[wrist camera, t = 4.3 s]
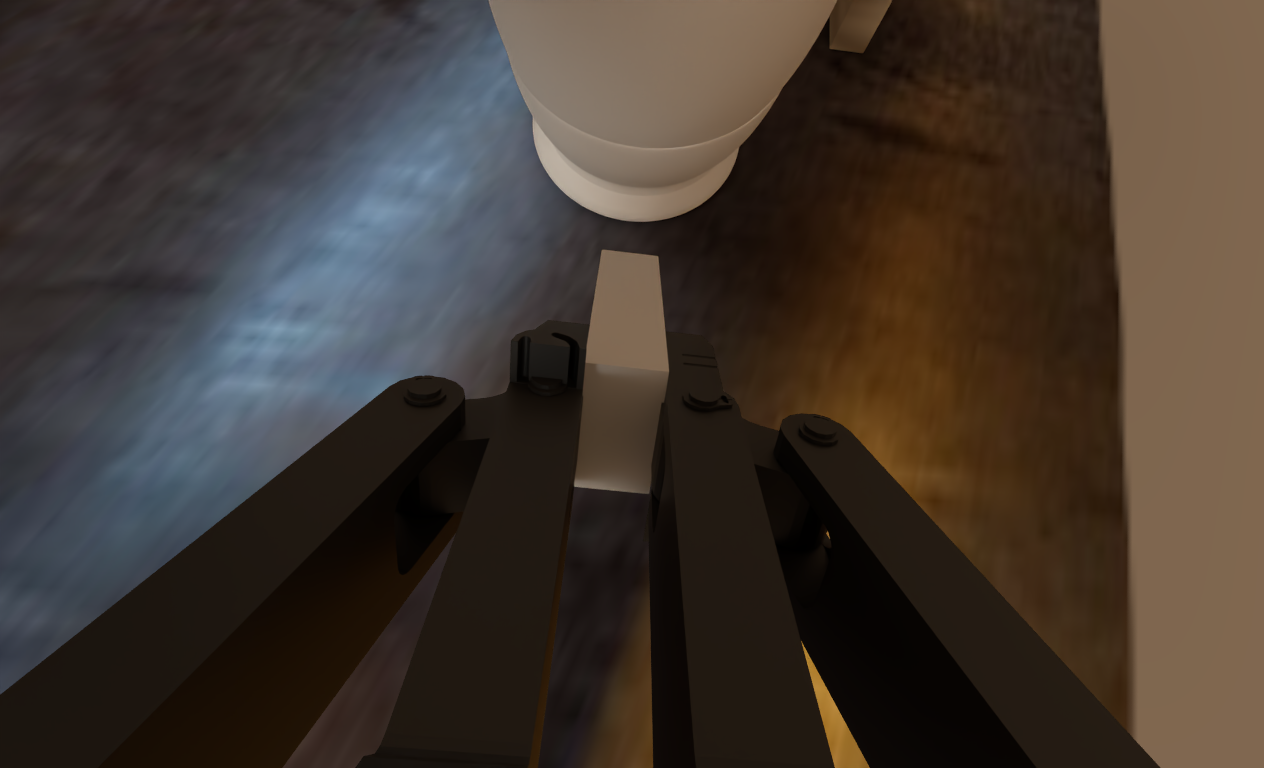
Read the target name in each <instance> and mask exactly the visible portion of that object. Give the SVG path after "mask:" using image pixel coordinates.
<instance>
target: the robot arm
mask: <svg viewBox="0 0 1264 768" xmlns="http://www.w3.org/2000/svg"><path fill="white" fill-rule="evenodd" d="M651 478H652V491H651V497H650V503H649V509H648V515H647V521H646V527H645V533H644V539H643V541H649V573H650V623H651V673H652V723H653V768H835V767H834V763H833V759H832V755H831V752H830V748H829V744H828V740H827V737H826V733H825V729H824V725H823V722H822V718H821V714H820V710H819V707H818V703H817V699H816V695H815V692H814V688H813V684H812V680H811V677H810V673H809V669H808V665H807V661H806V658H805V654H804V650H803V646H802V643H803V645H804V647H805V648H806V650H807V652H808V654H809V656H810V658H811V660H812V661H813V663H814V665H815V667H816V669H817V671H818V673H819V674H820V676H821V678H822V680H823V682H824V684H825V685H826V687H827V689H828V691H829V693H830V695H831V697H832V698H833V700H834V702H835V704H836V706H837V708H838V710H839V711H840V713H841V715H842V717H843V719H844V721H845V722H846V724H847V726H848V728H849V730H850V732H851V734H852V735H853V737H854V739H855V741H856V743H857V745H858V747H859V748H860V750H861V752H862V754H863V756H864V758H865V760H866V761H867V763H868V765H869V767H870V768H1160V767H1159V766H1158V765H1157V764H1156V763H1155V761H1154V760H1153V759H1152V758H1151V757H1150V756H1149V755H1148V754H1147V753H1146V752H1145V751H1144V749H1143V748H1142V747H1141V746H1140V745H1139V744H1138V743H1137V742H1136V741H1135V740H1134V739H1133V738H1132V736H1131V735H1130V734H1129V733H1128V732H1127V731H1126V730H1125V729H1124V728H1123V727H1122V726H1121V724H1120V723H1119V722H1118V721H1117V720H1116V719H1115V718H1114V717H1113V716H1112V715H1111V714H1110V713H1109V711H1108V710H1107V709H1106V708H1105V707H1104V706H1103V705H1102V704H1101V703H1100V702H1099V701H1098V700H1097V698H1096V697H1095V696H1094V695H1093V694H1092V693H1091V692H1090V691H1089V690H1088V689H1087V688H1086V686H1085V685H1084V684H1083V683H1082V682H1081V681H1080V680H1079V679H1078V678H1077V677H1076V676H1075V675H1074V673H1073V672H1072V671H1071V670H1070V669H1069V668H1068V667H1067V666H1066V665H1065V664H1064V663H1063V662H1062V660H1061V659H1060V658H1059V657H1058V656H1057V655H1056V654H1055V653H1054V652H1053V651H1052V650H1051V649H1050V647H1049V646H1048V645H1047V644H1046V643H1045V642H1044V641H1043V640H1042V639H1041V638H1040V637H1039V635H1038V634H1037V633H1036V632H1035V631H1034V630H1033V629H1032V628H1031V627H1030V626H1029V625H1028V624H1027V622H1026V621H1025V620H1024V619H1023V618H1022V617H1021V616H1020V615H1019V614H1018V613H1017V612H1016V611H1015V609H1014V608H1013V607H1012V606H1011V605H1010V604H1009V603H1008V602H1007V601H1006V600H1005V599H1004V598H1003V596H1002V595H1001V594H1000V593H999V592H998V591H997V590H996V589H995V588H994V587H993V586H992V584H991V583H990V582H989V581H988V580H987V579H986V578H985V577H984V576H983V575H982V574H981V573H980V571H979V570H978V569H977V568H976V567H975V566H974V565H973V564H972V563H971V562H970V561H969V560H968V558H967V557H966V556H965V555H964V554H963V553H962V552H961V551H960V550H959V549H958V548H957V546H956V545H955V544H954V543H953V542H952V541H951V540H950V539H949V538H948V537H947V536H946V535H945V533H944V532H943V531H942V530H941V529H940V528H939V527H938V526H937V525H936V524H935V523H934V522H933V520H932V519H931V518H930V517H929V516H928V515H927V514H926V513H925V512H924V511H923V510H922V509H921V507H920V506H919V505H918V504H917V503H916V502H915V501H914V500H913V499H912V498H911V497H910V495H909V494H908V493H907V492H906V491H905V490H904V489H903V488H902V487H901V486H900V485H899V484H898V482H897V481H896V480H895V479H894V478H893V477H892V476H891V475H890V474H889V473H888V472H887V471H886V469H885V468H884V467H883V466H882V465H881V464H880V463H879V462H878V461H877V460H876V459H875V458H874V456H873V455H872V454H871V453H870V452H869V451H868V450H867V449H866V448H865V447H864V446H863V444H862V443H861V442H860V441H859V440H858V439H857V438H856V437H855V436H854V435H853V434H852V433H851V432H850V431H849V430H848V429H846V428H845V427H844V426H843V425H841V424H839V423H837V422H835V421H833V420H831V419H830V418H828V417H824V416H822V417H821V415H816V414H795V415H790V416H788V417H787V418H785V419H783V420H782V424H781V427H780V430H779V431H777V430H774V429H770V428H767V427H763V426H760V425H757V424H754V423H751V422H749V421H747V420H745V419H743V418H742V417H741V413H740V410H739V406H738V404H737V403H736V401H735V399H734V398H733V397H731V396H730V395H729V394H727V393H726V392H724V391H723V387H722V383H721V379H720V375H719V370H718V368H717V362H716V359H715V354H714V350H713V346H712V345H711V344H710V343H709V342H708V341H707V340H706V339H705V338H704V337H702V336H701V335H692V334H683V333H674V332H666V331H665V323H664V313H663V302H662V292H661V281H660V271H659V260H658V256H653V255H644V254H636V253H627V252H619V251H610V250H602V252H601V258H600V265H599V271H598V277H597V284H596V290H595V296H594V303H593V309H592V315H591V322H590V325H588V324H579V323H570V322H561V321H552V320H548V321H546V322H545V323H543V324H542V325H540V326H539V327H537V328H536V329H535V330H528V331H524V332H522V333H520V334H517V335H516V336H515V337H514V338H513V339H512V340H511V358H510V383H509V386H508V388H507V391H506V392H505V393H503V394H501V395H497V396H493V397H488V398H481V399H467V400H465V394H464V390H463V388H462V387H461V386H460V385H458V384H457V383H456V382H454V381H451V380H448V379H446V378H441V377H434V376H415V377H412V378H408V379H404V380H401V381H399V382H397V383H395V384H393V385H391V386H389V387H388V388H387V389H386V390H384V391H383V392H382V393H381V394H379V395H378V396H377V397H376V398H374V399H373V400H372V401H371V402H369V403H368V404H367V405H365V406H364V407H363V408H362V409H360V410H359V411H358V412H357V413H355V414H354V415H353V416H352V417H350V418H349V419H348V420H347V421H345V422H344V423H343V424H341V425H340V426H339V427H338V428H336V429H335V430H334V431H333V432H331V433H330V434H329V435H328V436H326V437H325V438H324V439H323V440H321V441H320V442H319V443H317V444H316V445H315V446H314V447H312V448H311V449H310V450H309V451H307V452H306V453H305V454H304V455H302V456H301V457H300V458H299V459H297V460H296V461H295V462H294V463H292V464H291V465H290V466H288V467H287V468H286V469H285V470H283V471H282V472H281V473H280V474H278V475H277V476H276V477H275V478H273V479H272V480H271V481H270V482H268V483H267V484H266V485H264V486H263V487H262V488H261V489H259V490H258V491H257V492H256V493H254V494H253V495H252V496H251V497H249V498H248V499H247V500H246V501H244V502H243V503H242V504H240V505H239V506H238V507H237V508H235V509H234V510H233V511H232V512H230V513H229V514H228V515H227V516H225V517H224V518H223V519H222V520H220V521H219V522H218V523H216V524H215V525H214V526H213V527H211V528H210V529H209V530H208V531H206V532H205V533H204V534H203V535H201V536H200V537H199V538H198V539H196V540H195V541H194V542H193V543H191V544H190V545H189V546H187V547H186V548H185V549H184V550H182V551H181V552H180V553H179V554H177V555H176V556H175V557H174V558H172V559H171V560H170V561H169V562H167V563H166V564H165V565H163V566H162V567H161V568H160V569H158V570H157V571H156V572H155V573H153V574H152V575H151V576H150V577H148V578H147V579H146V580H145V581H143V582H142V583H141V584H139V585H138V586H137V587H136V588H134V589H133V590H132V591H131V592H129V593H128V594H127V595H126V596H124V597H123V598H122V599H121V600H119V601H118V602H117V603H116V604H114V605H113V606H112V607H110V608H109V609H108V610H107V611H105V612H104V613H103V614H102V615H100V616H99V617H98V618H97V619H95V620H94V621H93V622H92V623H90V624H89V625H88V626H86V627H85V628H84V629H83V630H81V631H80V632H79V633H78V634H76V635H75V636H74V637H73V638H71V639H70V640H69V641H68V642H66V643H65V644H64V645H62V646H61V647H60V648H59V649H57V650H56V651H55V652H54V653H52V654H51V655H50V656H49V657H47V658H46V659H45V660H44V661H42V662H41V663H40V664H38V665H37V666H36V667H35V668H33V669H32V670H31V671H30V672H28V673H27V674H26V675H25V676H23V677H22V678H21V679H20V680H18V681H17V682H16V683H15V684H13V685H12V686H11V687H9V688H8V689H7V690H6V691H4V692H3V693H2V694H1V695H0V768H282V767H283V766H284V765H285V763H286V762H287V761H288V759H289V758H290V756H291V755H292V754H293V752H294V751H295V750H296V748H297V747H298V746H299V744H300V743H301V742H302V740H303V739H304V738H305V736H306V735H307V733H308V732H309V731H310V729H311V728H312V727H313V725H314V724H315V723H316V721H317V720H318V719H319V717H320V716H321V715H322V713H323V712H324V710H325V709H326V708H327V706H328V705H329V704H330V702H331V701H332V700H333V698H334V697H335V696H336V694H337V693H338V692H339V690H340V689H341V687H342V686H343V685H344V683H345V682H346V681H347V679H348V678H349V677H350V675H351V674H352V673H353V671H354V670H355V668H356V667H357V666H358V664H359V663H360V662H361V660H362V659H363V658H364V656H365V655H366V654H367V652H368V651H369V650H370V648H371V647H372V645H373V644H374V643H375V641H376V640H377V639H378V637H379V636H380V635H381V633H382V632H383V631H384V629H385V628H386V627H387V625H388V624H389V622H390V621H391V620H392V618H393V617H394V616H395V614H396V613H397V612H398V610H399V609H400V608H401V606H402V605H403V604H404V602H405V601H406V599H407V598H408V597H409V595H410V594H411V593H412V591H413V590H414V589H415V587H416V586H417V585H418V583H419V582H420V581H421V579H422V578H423V576H424V575H425V574H426V572H427V571H428V570H429V568H430V567H431V566H432V564H433V563H434V562H435V560H436V559H437V557H438V556H439V555H440V553H441V552H442V551H443V549H444V548H445V547H446V545H447V544H448V543H449V541H450V540H451V539H452V537H453V536H454V534H455V533H456V535H455V538H454V541H453V544H452V547H451V549H450V552H449V555H448V558H447V561H446V563H445V566H444V569H443V572H442V575H441V578H440V580H439V583H438V586H437V589H436V592H435V595H434V597H433V600H432V603H431V606H430V609H429V611H428V614H427V617H426V620H425V623H424V626H423V628H422V631H421V634H420V637H419V640H418V643H417V645H416V648H415V651H414V654H413V657H412V659H411V662H410V665H409V668H408V671H407V674H406V676H405V679H404V682H403V685H402V688H401V691H400V693H399V696H398V699H397V702H396V705H395V707H394V710H393V713H392V716H391V719H390V722H389V724H388V727H387V730H386V733H385V735H384V738H383V740H382V742H381V745H380V747H379V748H378V750H377V751H376V753H375V754H372V755H368V756H364V757H363V758H362V759H361V761H360V762H359V764H358V765H357V766H356V768H538V761H539V753H540V745H541V738H542V730H543V723H544V715H545V707H546V700H547V692H548V685H549V677H550V669H551V662H552V654H553V646H554V639H555V631H556V624H557V616H558V608H559V601H560V593H561V586H562V578H563V570H564V563H565V555H566V548H567V540H568V532H569V525H570V517H571V509H572V501H573V491H574V487H583V488H593V489H604V490H614V491H624V492H634V493H644V494H649V490H650V484H651ZM827 531H828V533H829V536H830V539H829V537H828V536H827V534H826V533H827ZM801 641H802V643H801Z"/></svg>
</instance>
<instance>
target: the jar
mask: <svg viewBox="0 0 1264 768" xmlns="http://www.w3.org/2000/svg"><path fill="white" fill-rule="evenodd" d="M488 1H489V5H490V8H491V11H492V14H493V17H494V20H495V23H496V25H497V28H498V31H499V34H500V36H501V39H502V41H503V44H504V46H505V49H506V51H507V54H508V57H509V61H510V64H511V67H512V71H513V74H514V76H515V79H516V82H517V84H518V87H519V89H520V92H521V94H522V96H523V99H524V101H525V103H526V105H527V107H528V109H529V111H530V112H531V114H532V116H533V137H534V142H535V147H536V150H537V153H538V156H539V158H540V161H541V163H542V165H543V167H544V168H545V170H546V172H547V173H548V175H549V176H550V178H551V179H552V180H553V182H554V183H555V184H556V185H557V186H558V187H559V188H560V189H561V190H562V191H563V192H564V193H565V194H566V195H567V196H569V197H570V198H571V199H573V200H574V201H575V202H577V203H578V204H580V205H581V206H583V207H585V208H587V209H589V210H591V211H593V212H595V213H598V214H600V215H603V216H606V217H610V218H614V219H618V220H623V221H633V222H650V221H658V220H664V219H669V218H672V217H675V216H679V215H681V214H684V213H686V212H688V211H690V210H692V209H694V208H696V207H698V206H699V205H701V204H702V203H704V202H705V201H706V200H708V199H709V198H710V197H711V196H712V195H713V194H714V193H715V192H716V191H717V190H718V189H719V188H720V187H721V186H722V184H723V183H724V182H725V180H726V179H727V177H728V176H729V174H730V172H731V170H732V168H733V166H734V164H735V161H736V158H737V155H738V150H739V146H740V145H741V144H742V143H743V142H744V141H745V140H746V139H747V138H748V137H749V136H750V135H751V134H752V132H753V131H754V130H755V129H756V128H757V126H758V125H759V124H760V122H761V121H762V120H763V118H764V117H765V115H766V114H767V113H768V111H769V110H770V108H771V106H772V105H773V103H774V102H775V100H776V98H777V97H778V95H779V93H780V91H781V90H782V88H783V86H784V85H785V84H786V83H787V82H788V80H789V79H790V78H791V76H792V75H793V74H794V72H795V71H796V70H797V68H798V67H799V65H800V64H801V63H802V61H803V60H804V58H805V57H806V55H807V54H808V52H809V50H810V49H811V47H812V46H813V44H814V42H815V41H816V39H817V37H818V36H819V34H820V32H821V30H822V29H823V27H824V25H825V23H826V21H827V20H828V18H829V16H830V14H831V12H832V10H833V8H834V6H835V4H836V2H837V0H488Z"/></svg>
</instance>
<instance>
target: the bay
mask: <svg viewBox="0 0 1264 768" xmlns="http://www.w3.org/2000/svg"><path fill="white" fill-rule="evenodd" d="M891 2H892V0H837V2H836V4H835V6H834V8H833V10H832V12H831V14H830V49H835V50H842V51H849V52H857V53H864V51H865V49H866V47H867V46H868V44H869V42H870V40H871V38H872V37H873V35H874V33H875V31H876V29H877V27H878V26H879V24H880V22H881V20H882V18H883V17H884V15H885V13H886V11H887V9H888V8H889V6H890V4H891Z"/></svg>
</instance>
